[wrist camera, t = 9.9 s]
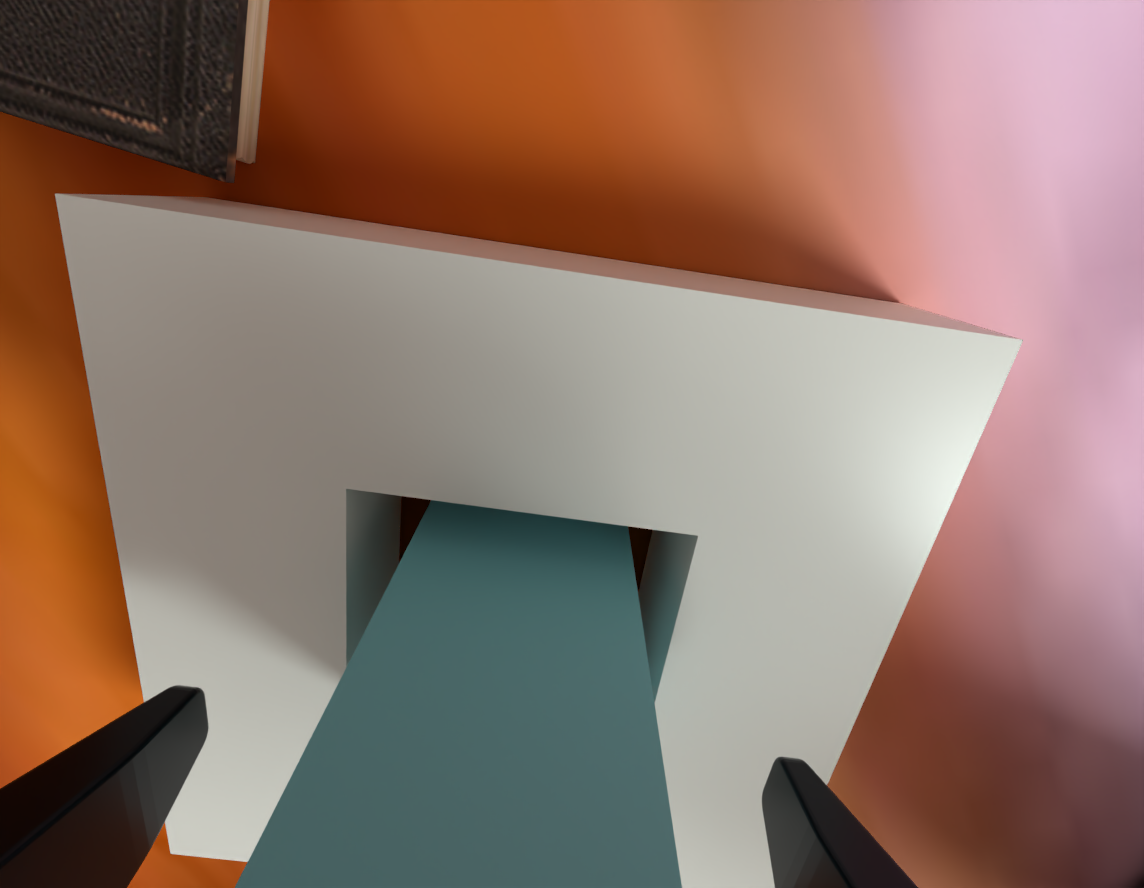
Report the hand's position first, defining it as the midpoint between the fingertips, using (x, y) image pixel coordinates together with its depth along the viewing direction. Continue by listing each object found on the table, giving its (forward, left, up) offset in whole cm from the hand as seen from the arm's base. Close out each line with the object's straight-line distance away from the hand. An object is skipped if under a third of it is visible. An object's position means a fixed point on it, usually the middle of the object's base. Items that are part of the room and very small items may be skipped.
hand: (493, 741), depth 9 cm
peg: (0, 0, -6) cm, 6 cm away
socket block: (0, 0, -6) cm, 6 cm away
